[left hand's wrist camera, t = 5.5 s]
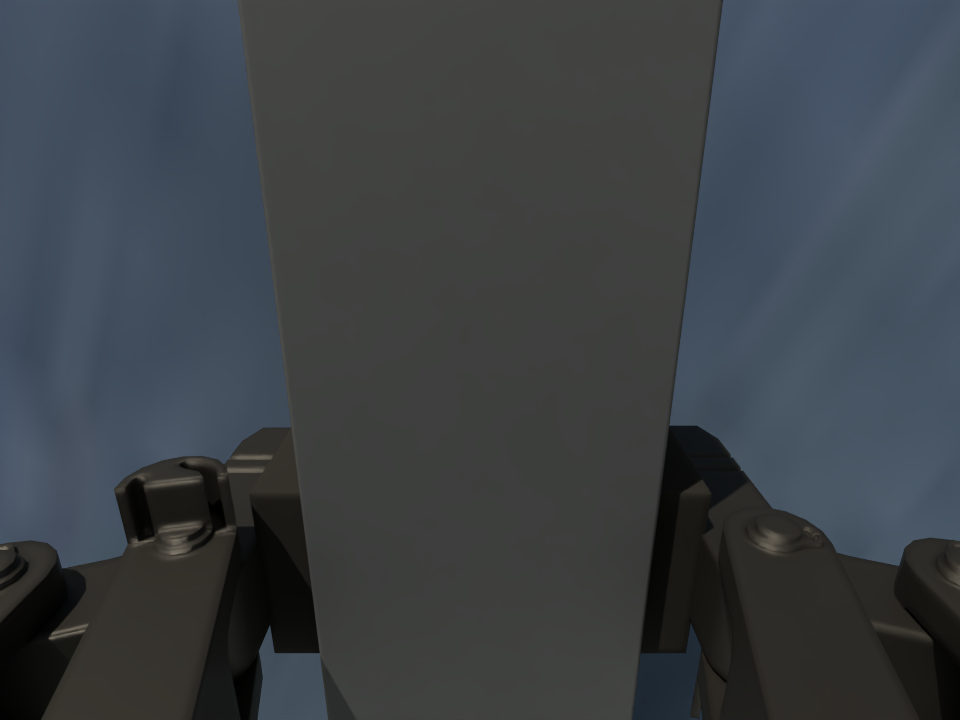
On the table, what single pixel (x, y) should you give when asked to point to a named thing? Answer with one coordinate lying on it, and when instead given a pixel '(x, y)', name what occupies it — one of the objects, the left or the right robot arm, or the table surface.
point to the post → (480, 332)
